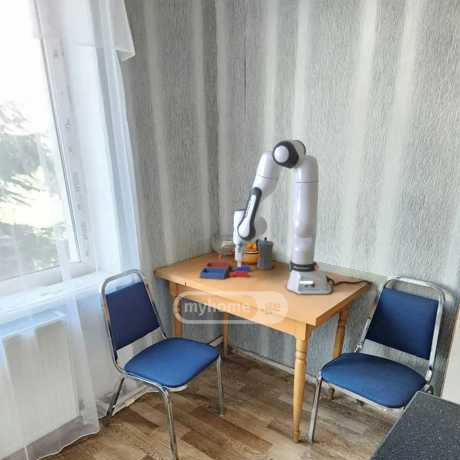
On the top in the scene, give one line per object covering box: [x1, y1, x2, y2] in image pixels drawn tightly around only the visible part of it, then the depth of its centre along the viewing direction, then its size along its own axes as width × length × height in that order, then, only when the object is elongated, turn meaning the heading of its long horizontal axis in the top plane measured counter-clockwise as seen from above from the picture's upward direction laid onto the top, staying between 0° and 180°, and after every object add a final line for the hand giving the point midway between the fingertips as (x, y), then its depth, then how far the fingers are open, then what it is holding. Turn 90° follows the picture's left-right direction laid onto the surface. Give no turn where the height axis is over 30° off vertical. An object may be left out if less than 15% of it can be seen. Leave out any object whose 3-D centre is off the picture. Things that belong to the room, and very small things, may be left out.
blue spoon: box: [231, 265, 251, 273], centre depth 227 cm, size 11×4×3 cm, turn 80°
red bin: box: [204, 261, 231, 273], centre depth 229 cm, size 13×9×3 cm
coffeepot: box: [254, 236, 274, 271], centre depth 230 cm, size 15×9×18 cm, turn 35°
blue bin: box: [199, 267, 228, 280], centre depth 219 cm, size 13×9×3 cm
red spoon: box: [228, 271, 249, 278], centre depth 219 cm, size 11×4×3 cm, turn 80°
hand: (240, 263), depth 216 cm, fingers open, 8 cm apart
